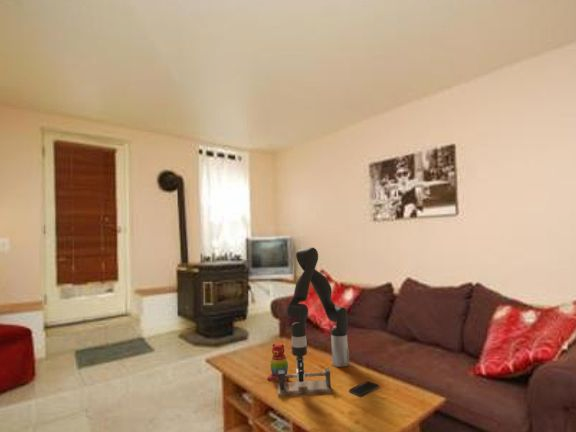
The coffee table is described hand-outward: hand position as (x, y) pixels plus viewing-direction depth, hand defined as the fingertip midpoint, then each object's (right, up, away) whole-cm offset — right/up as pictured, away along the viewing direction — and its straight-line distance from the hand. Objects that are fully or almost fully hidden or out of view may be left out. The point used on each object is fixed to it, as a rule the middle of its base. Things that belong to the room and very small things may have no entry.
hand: (300, 379), depth 173 cm
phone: (+31, -4, -3) cm, 31 cm away
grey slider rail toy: (+2, -5, 0) cm, 5 cm away
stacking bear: (-11, -7, +15) cm, 20 cm away
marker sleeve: (0, -1, 0) cm, 1 cm away
